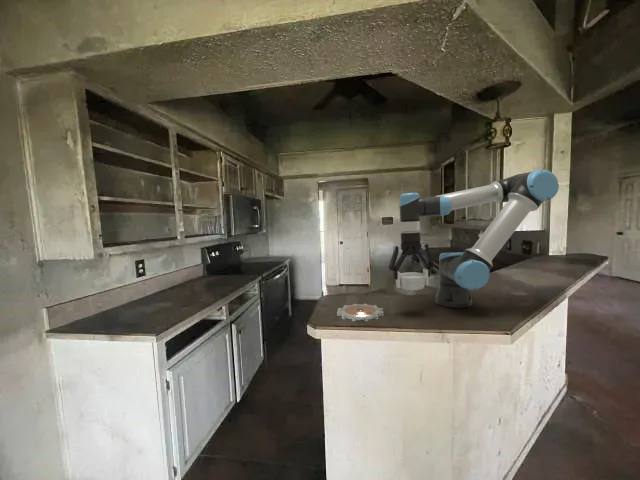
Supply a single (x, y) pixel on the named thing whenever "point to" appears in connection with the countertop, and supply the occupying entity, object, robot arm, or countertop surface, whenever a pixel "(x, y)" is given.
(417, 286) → the ramekin
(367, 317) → the plate
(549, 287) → the countertop surface
